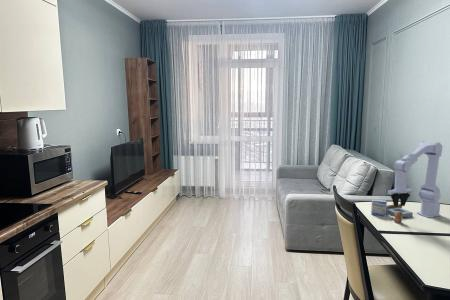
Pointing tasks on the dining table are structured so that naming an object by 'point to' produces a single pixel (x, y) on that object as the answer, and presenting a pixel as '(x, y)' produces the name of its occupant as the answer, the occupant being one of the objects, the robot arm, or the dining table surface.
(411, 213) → the socket block
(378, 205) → the medicine box
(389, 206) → the walnut wall
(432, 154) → the robot arm
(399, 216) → the brown rounded peg
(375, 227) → the dining table surface
